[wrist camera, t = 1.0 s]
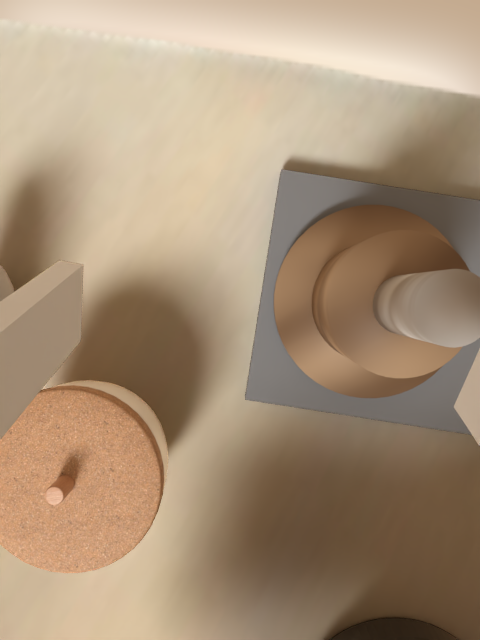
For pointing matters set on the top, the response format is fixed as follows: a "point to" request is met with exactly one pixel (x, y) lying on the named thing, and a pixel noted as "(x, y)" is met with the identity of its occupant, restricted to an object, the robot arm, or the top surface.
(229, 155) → the top surface
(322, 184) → the rubber mat
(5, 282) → the grey piece
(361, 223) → the walnut hub
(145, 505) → the lidded jar
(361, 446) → the top surface
